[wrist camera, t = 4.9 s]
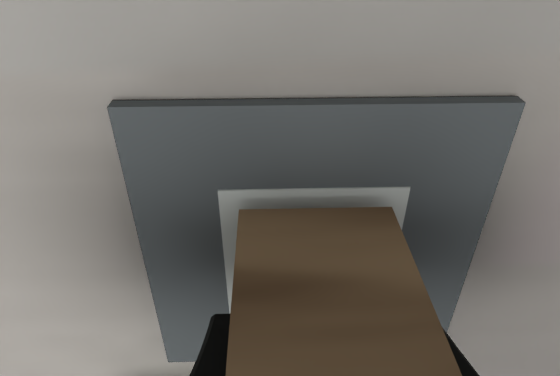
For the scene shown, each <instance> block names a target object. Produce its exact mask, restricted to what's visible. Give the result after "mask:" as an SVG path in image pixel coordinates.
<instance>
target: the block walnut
mask: <svg viewBox="0 0 560 376" xmlns="http://www.w3.org/2000/svg"><path fill="white" fill-rule="evenodd" d="M225 376H462V374H461V372H460V369H459V367H458V364H457V362H456V360H455V357H454V355H453V352H452V350H451V348H450V345H449V343H448V340H447V338H446V336H445V333H444V331H443V328H442V326H441V324H440V321H439V319H438V316H437V314H436V312H435V309H434V307H433V304H432V302H431V300H430V297H429V295H428V292H427V290H426V288H425V285H424V283H423V280H422V278H421V276H420V273H419V271H418V268H417V266H416V264H415V261H414V259H413V256H412V254H411V252H410V249H409V247H408V244H407V242H406V239H405V237H404V235H403V232H402V230H401V227H400V225H399V223H398V220H397V218H396V215H395V213H394V211H393V208H392V207H350V208H292V209H239V213H238V225H237V238H236V250H235V263H234V275H233V288H232V300H231V313H230V325H229V338H228V350H227V363H226V375H225Z"/></svg>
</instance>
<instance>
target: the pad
mask: <svg viewBox="0 0 560 376" xmlns="http://www.w3.org/2000/svg"><path fill="white" fill-rule="evenodd" d="M524 106H525V102H524V101H523V100H522V99H520V98H519V97H518V96H494V97H400V98H306V99H213V100H119V101H111V103H110V104H109V106H108V107H107V108H108V113H109V117H110V121H111V125H112V129H113V133H114V138H115V142H116V146H117V150H118V154H119V158H120V163H121V167H122V171H123V175H124V179H125V184H126V188H127V192H128V196H129V200H130V204H131V209H132V213H133V217H134V221H135V225H136V229H137V234H138V238H139V242H140V246H141V250H142V254H143V259H144V263H145V267H146V271H147V275H148V279H149V284H150V288H151V292H152V296H153V300H154V304H155V309H156V313H157V317H158V321H159V325H160V330H161V334H162V338H163V342H164V346H165V350H166V355H167V359H168V362H193V361H196V359H197V357H198V355H199V352H200V349H201V347H202V344H203V341H204V338H205V335H206V332H207V329H208V326H209V322H210V319H211V317H212V316H213V315H214V314H230V313H231V300H232V288H233V275H234V263H235V250H236V238H237V225H238V213H239V209H292V208H350V207H392V208H393V211H394V213H395V215H396V218H397V220H398V223H399V225H400V227H401V230H402V232H403V235H404V237H405V239H406V242H407V244H408V247H409V249H410V252H411V254H412V256H413V259H414V261H415V264H416V266H417V268H418V271H419V273H420V276H421V278H422V280H423V283H424V285H425V288H426V290H427V292H428V295H429V297H430V300H431V302H432V304H433V307H434V309H435V312H436V314H437V316H438V319H439V321H440V324H441V326H442V327H443V329H444V330H445V332H446V333H447V330H448V327H449V324H450V321H451V318H452V316H453V313H454V310H455V307H456V304H457V301H458V298H459V295H460V292H461V289H462V286H463V284H464V281H465V278H466V275H467V272H468V269H469V266H470V263H471V260H472V257H473V254H474V252H475V249H476V246H477V243H478V240H479V237H480V234H481V231H482V228H483V225H484V222H485V220H486V217H487V214H488V211H489V208H490V205H491V202H492V199H493V196H494V193H495V190H496V187H497V185H498V182H499V179H500V176H501V173H502V170H503V167H504V164H505V161H506V158H507V155H508V153H509V150H510V147H511V144H512V141H513V138H514V135H515V132H516V129H517V126H518V123H519V121H520V118H521V115H522V112H523V109H524Z"/></svg>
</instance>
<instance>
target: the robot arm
mask: <svg viewBox="0 0 560 376" xmlns="http://www.w3.org/2000/svg"><path fill="white" fill-rule="evenodd" d="M229 325H230V314H214V315H213V316H212V317H211V319H210V322H209V326H208V329H207V332H206V335H205V338H204V341H203V344H202V347H201V349H200V352H199V355H198V357H197V359H196V362H195V364H194V367H193V369H192V372H191V374H190V376H225V375H226V363H227V350H228V338H229ZM442 328H443V327H442ZM443 331H444V333H445V336H446V338H447V340H448V343H449V345H450V348H451V350H452V352H453V355H454V357H455V360H456V362H457V364H458V367H459V369H460V372H461V374H462V376H479V375H478V373H477V372H476V371H475V369H474V368H473V367H472V366H471V364H470V363H469V362H468V361H467V359H466V358H465V357H464V355H463V354H462V353H461V352H460V350H459V349H458V348H457V346H456V345H455V344H454V342H453V341H452V340H451V338H450V337H449V336H448V334H447V333H446V332H445V330H444V329H443Z"/></svg>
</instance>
